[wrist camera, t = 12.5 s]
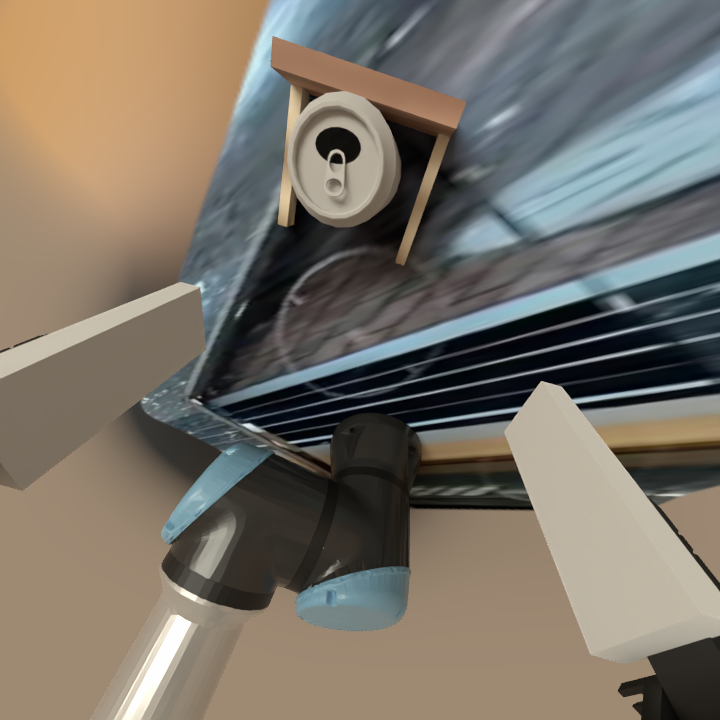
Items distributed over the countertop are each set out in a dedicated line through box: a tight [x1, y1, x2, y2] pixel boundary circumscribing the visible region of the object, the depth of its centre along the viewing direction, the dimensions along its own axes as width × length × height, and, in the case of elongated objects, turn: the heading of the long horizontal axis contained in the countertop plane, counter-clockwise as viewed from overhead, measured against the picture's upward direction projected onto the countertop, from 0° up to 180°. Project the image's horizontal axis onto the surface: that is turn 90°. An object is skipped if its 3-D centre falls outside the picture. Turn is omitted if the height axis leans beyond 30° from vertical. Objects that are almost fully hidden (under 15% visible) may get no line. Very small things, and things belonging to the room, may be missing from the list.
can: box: [287, 91, 401, 227], centre depth 22 cm, size 8×8×12 cm
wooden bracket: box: [271, 36, 466, 265], centre depth 25 cm, size 12×14×6 cm
